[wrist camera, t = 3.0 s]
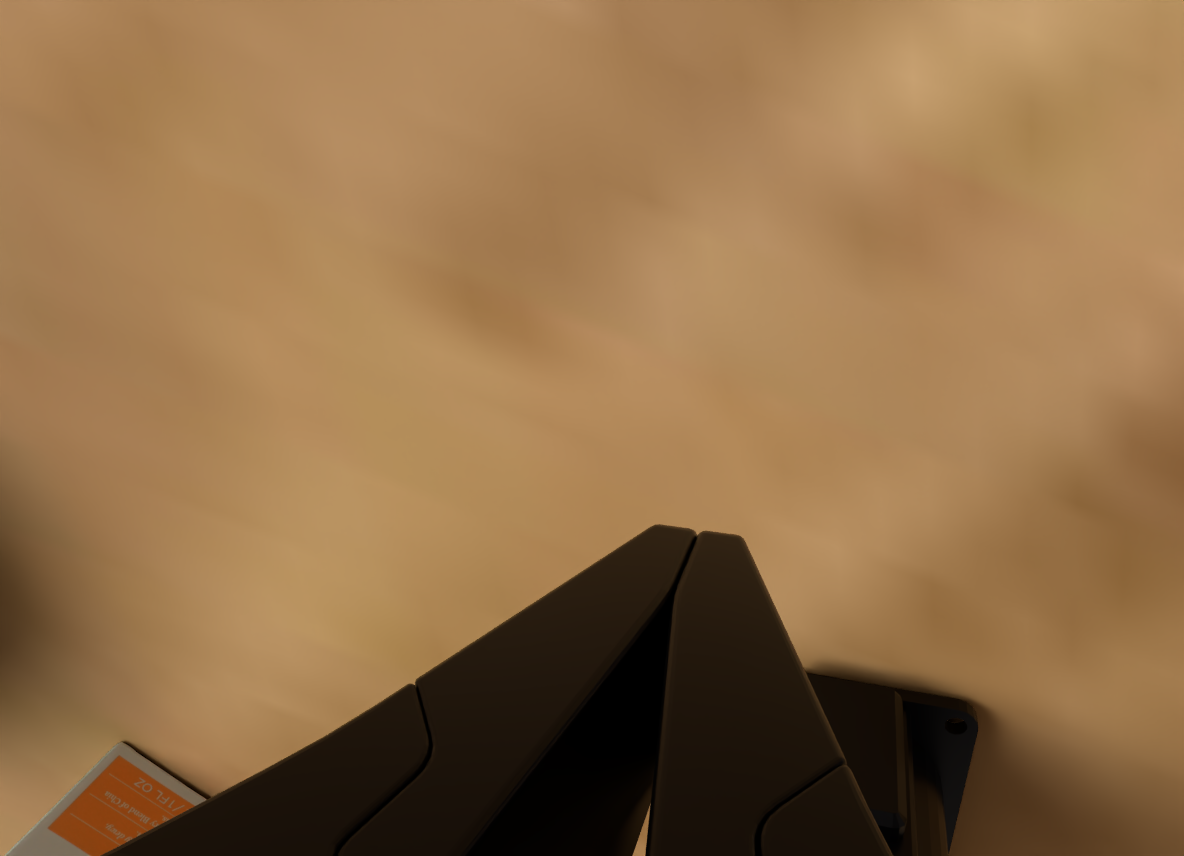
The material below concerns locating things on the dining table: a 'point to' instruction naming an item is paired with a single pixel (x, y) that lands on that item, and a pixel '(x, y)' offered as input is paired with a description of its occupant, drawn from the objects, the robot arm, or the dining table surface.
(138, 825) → the skincare box
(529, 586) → the dining table surface
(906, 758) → the robot arm
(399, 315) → the dining table surface
